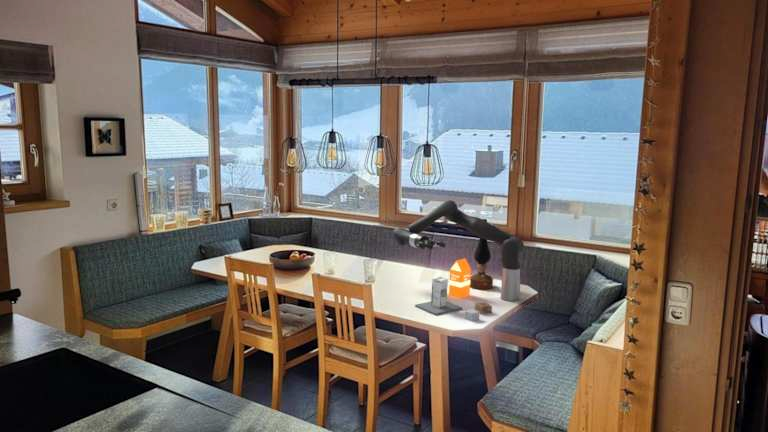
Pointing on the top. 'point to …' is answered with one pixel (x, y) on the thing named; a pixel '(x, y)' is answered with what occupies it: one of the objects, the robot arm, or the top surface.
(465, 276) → the orange juice
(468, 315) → the grey plastic block
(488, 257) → the oil lamp
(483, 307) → the walnut block
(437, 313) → the charcoal mat
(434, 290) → the syrup box
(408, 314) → the top surface
